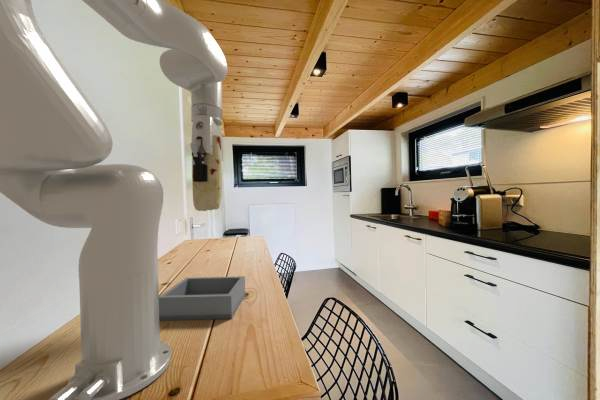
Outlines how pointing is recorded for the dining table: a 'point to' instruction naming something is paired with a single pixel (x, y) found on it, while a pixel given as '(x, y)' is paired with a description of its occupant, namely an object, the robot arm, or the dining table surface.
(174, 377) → the dining table surface
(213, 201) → the food model
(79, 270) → the robot arm
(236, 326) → the dining table surface
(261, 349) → the dining table surface
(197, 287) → the bin
